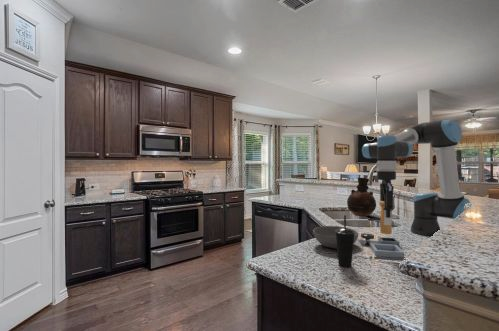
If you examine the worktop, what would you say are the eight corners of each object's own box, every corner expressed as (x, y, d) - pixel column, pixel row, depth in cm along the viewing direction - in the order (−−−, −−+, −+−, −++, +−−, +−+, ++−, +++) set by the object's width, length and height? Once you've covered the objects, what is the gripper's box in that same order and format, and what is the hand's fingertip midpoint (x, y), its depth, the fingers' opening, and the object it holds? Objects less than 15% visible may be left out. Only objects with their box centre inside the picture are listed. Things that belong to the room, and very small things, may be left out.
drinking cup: (354, 263, 114) (354, 214, 114) (355, 269, 107) (355, 217, 107) (335, 261, 117) (335, 213, 117) (334, 267, 110) (334, 216, 110)
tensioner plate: (396, 244, 140) (396, 233, 140) (403, 252, 128) (403, 240, 128) (357, 242, 144) (358, 231, 144) (361, 249, 132) (361, 237, 132)
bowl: (359, 244, 142) (359, 228, 142) (356, 256, 123) (356, 238, 123) (317, 239, 151) (317, 224, 151) (308, 250, 132) (308, 233, 132)
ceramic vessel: (346, 217, 214) (346, 177, 213) (347, 213, 230) (347, 176, 230) (376, 218, 206) (376, 178, 206) (375, 214, 222) (375, 177, 222)
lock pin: (391, 231, 125) (391, 201, 125) (394, 234, 120) (394, 202, 120) (377, 231, 127) (377, 200, 127) (380, 234, 121) (380, 202, 121)
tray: (396, 252, 128) (396, 244, 128) (404, 261, 117) (404, 252, 117) (370, 251, 130) (370, 243, 130) (375, 259, 119) (375, 250, 119)
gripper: (373, 170, 133) (372, 219, 133) (381, 171, 116) (381, 227, 116) (390, 170, 131) (390, 220, 131) (401, 171, 114) (401, 228, 114)
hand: (386, 223), depth 123 cm, fingers closed on lock pin, 4 cm apart
